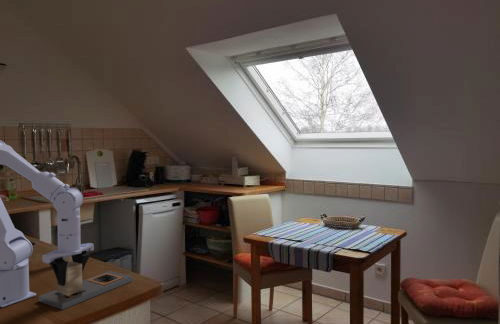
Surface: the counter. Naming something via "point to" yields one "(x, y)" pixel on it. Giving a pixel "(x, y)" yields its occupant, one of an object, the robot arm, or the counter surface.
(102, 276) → the grey board with holes
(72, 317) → the counter surface
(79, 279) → the peg
